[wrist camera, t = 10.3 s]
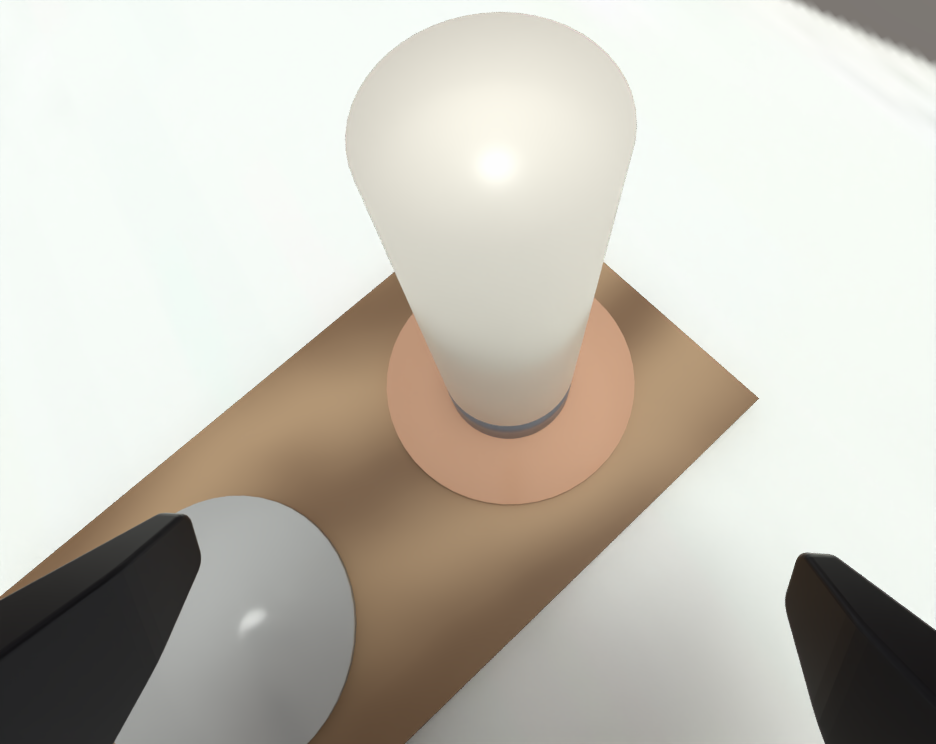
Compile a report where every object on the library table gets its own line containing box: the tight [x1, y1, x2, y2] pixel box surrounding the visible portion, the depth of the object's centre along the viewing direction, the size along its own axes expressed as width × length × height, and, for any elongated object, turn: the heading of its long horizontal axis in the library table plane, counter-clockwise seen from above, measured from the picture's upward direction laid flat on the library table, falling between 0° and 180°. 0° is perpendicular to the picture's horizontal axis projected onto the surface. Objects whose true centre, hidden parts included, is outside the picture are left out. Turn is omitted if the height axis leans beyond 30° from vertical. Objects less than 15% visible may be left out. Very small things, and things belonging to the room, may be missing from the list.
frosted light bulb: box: [345, 12, 637, 439], centre depth 15 cm, size 4×4×13 cm
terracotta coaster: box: [386, 298, 635, 505], centre depth 21 cm, size 9×9×1 cm
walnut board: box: [0, 262, 759, 744], centre depth 21 cm, size 13×25×1 cm, turn 131°
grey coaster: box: [115, 496, 357, 744], centre depth 19 cm, size 9×9×1 cm
